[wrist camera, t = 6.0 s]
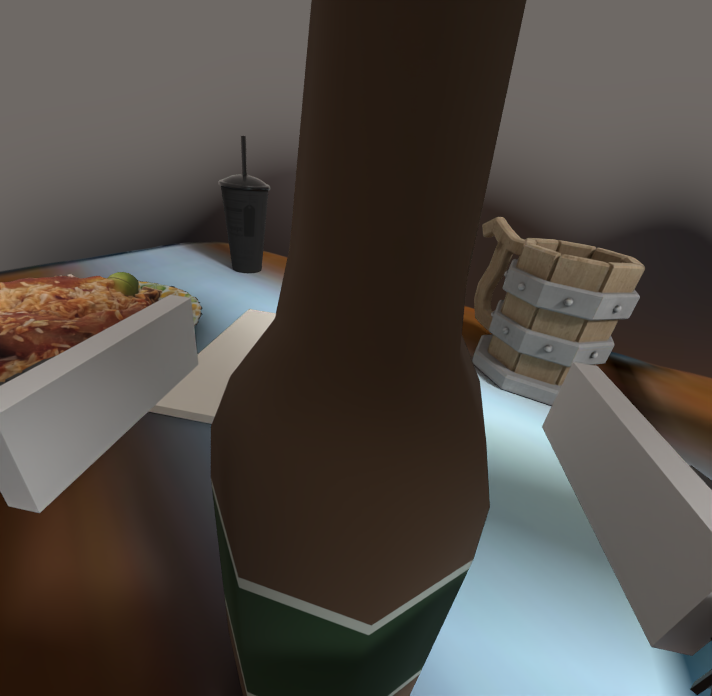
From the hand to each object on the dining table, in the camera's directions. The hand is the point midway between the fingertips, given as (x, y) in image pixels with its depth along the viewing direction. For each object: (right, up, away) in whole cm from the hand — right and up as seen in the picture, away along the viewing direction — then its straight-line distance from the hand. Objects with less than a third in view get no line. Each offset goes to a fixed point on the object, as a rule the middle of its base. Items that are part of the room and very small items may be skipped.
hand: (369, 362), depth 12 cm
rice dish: (-32, +2, +24) cm, 40 cm away
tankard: (+18, -1, +31) cm, 36 cm away
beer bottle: (-2, -13, +3) cm, 14 cm away
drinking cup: (-19, +14, +49) cm, 55 cm away
